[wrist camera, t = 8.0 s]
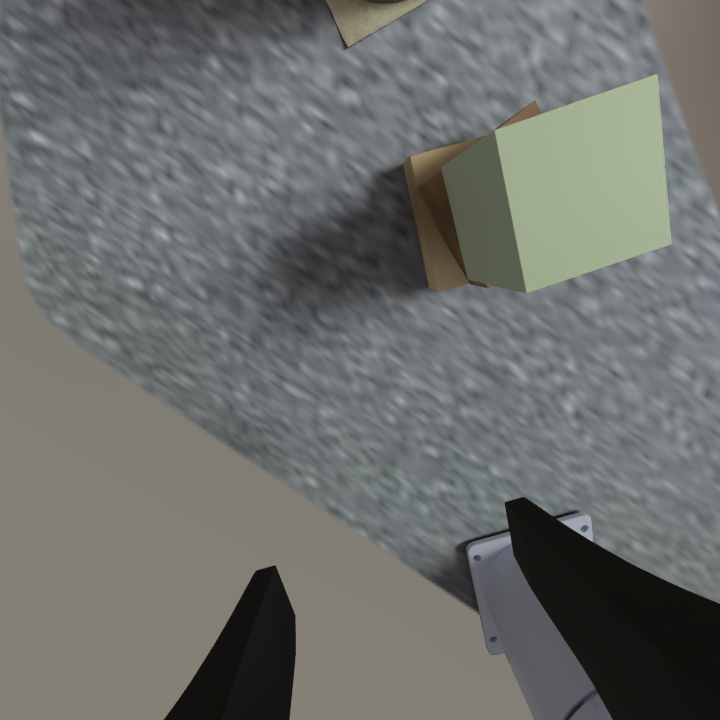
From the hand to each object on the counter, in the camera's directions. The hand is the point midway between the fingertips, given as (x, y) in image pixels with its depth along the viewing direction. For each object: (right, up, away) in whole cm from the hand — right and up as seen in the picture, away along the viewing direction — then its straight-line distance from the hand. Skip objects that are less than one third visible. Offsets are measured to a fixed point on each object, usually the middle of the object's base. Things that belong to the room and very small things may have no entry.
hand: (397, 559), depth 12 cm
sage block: (+5, +12, +4) cm, 14 cm away
